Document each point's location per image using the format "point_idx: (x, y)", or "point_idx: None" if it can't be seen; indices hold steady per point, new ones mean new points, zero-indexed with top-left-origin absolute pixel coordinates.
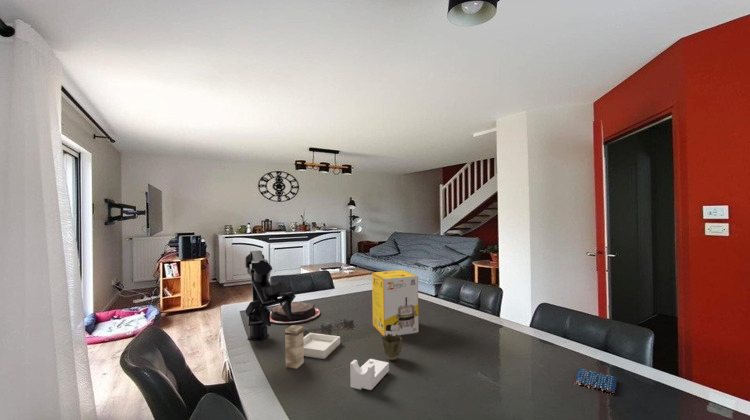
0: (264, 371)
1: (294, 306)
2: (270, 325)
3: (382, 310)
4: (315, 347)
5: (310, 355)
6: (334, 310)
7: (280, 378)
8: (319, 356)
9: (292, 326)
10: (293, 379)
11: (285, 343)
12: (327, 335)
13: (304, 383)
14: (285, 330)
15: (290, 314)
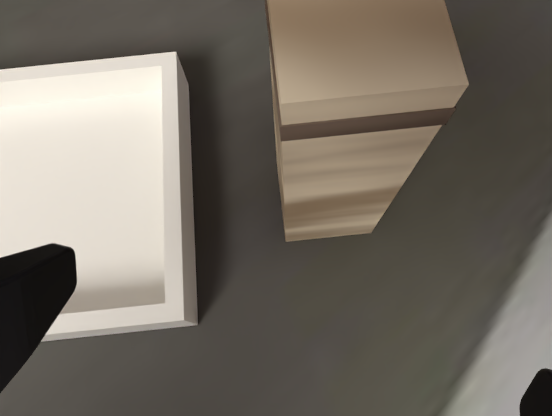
0: (488, 320)
1: None
2: (545, 375)
3: None
4: (71, 201)
5: (190, 167)
6: None
7: (492, 166)
8: (187, 106)
9: (325, 70)
10: (460, 98)
11: (413, 165)
12: None
13: (459, 32)
14: (460, 89)
15: (10, 273)
